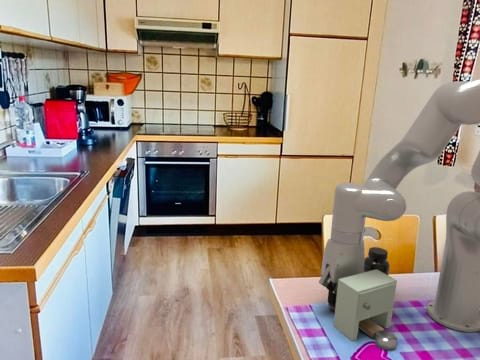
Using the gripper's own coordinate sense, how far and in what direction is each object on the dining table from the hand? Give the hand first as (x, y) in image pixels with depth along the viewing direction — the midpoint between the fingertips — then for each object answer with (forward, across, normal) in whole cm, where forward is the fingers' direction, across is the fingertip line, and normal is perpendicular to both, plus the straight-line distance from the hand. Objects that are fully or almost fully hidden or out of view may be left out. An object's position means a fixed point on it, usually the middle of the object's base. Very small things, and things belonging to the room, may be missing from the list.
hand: (340, 302), depth 98 cm
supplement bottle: (+2, -15, -3) cm, 15 cm away
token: (+2, 0, +15) cm, 15 cm away
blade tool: (+1, 0, +5) cm, 5 cm away
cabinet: (+2, 0, +8) cm, 8 cm away
